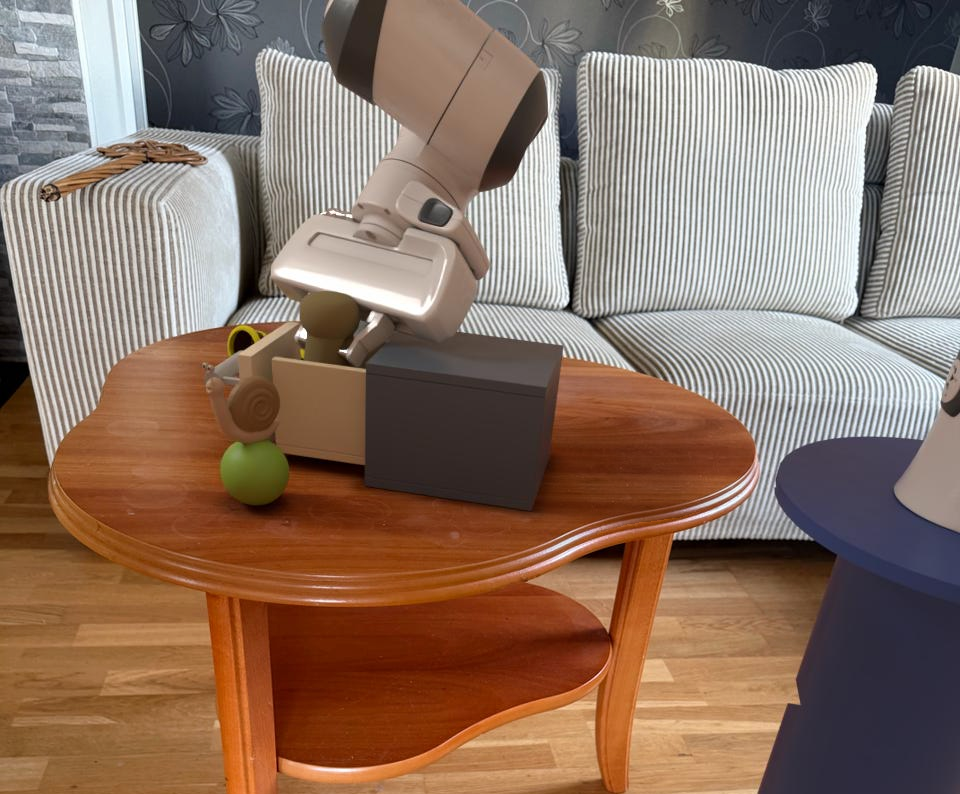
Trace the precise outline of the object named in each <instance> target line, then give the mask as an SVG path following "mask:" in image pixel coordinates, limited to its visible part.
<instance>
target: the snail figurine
mask: <svg viewBox="0 0 960 794" xmlns="http://www.w3.org/2000/svg"><path fill="white" fill-rule="evenodd" d="M201 367H202V369H203V370H204V371H205V372H204V373H206V372H208V371H209V372H210V373H211V378H210V379H209V380H208V378H207V374H206V379H207V383H206V384H205V391H206V393H207V395H208V396H209V400H210V404H211V409H212V412H213V415H214V418H215V420H216V423H217V425H218V427H219V429H220V431H221V432H222V433H223V435H224V436H225V437H226V438H228V439H229V440H231V441H234V442H233V443H232V444H231V445H230V446H228V448H227V449H226V450H225V452H224V453H223V455H222V458H221V461H220V464H219V465H220V468H219V475H220V479H221V482H222V484H223V486H224V489H225V490H226V491H227V492H228V493H229V495H230V496H231V497H232V498H233V499H235V500H237V501H238V502H240V503H242V504H246V505H249V506H263V505H267V504H270V503H272V502H274V501H275V500H278V498H280V497H281V495H282V494H283V493H284V492H285V490H286V488H287V486H288V483H289V480H290V466H289V461H288V459H287V456H285V453H283V452H282V451H281V450H280V449H279V448H278V447H277V446H276V443H274V442H273V443H272V442H270V441H268V440H266V439H267V438H269V437H270V436H271V435H272V434H273V433H274V432H275V430H276V428H277V427H278V424H279V421H278V420H275V419H276V417H277V415H278V412H279V408H280V397H279V393H278V391H277V389H276V387H275V386H274V384H273V383H272V382H270V381H269V380H268V379H266V378H264V377H260V376H250V377H247V378H245V379H243V380H241V381H240V382H238V383H237V384H236V385H235V386H233V388H232V389H231V391H230V392H229V394H228V397H227V399H226V397H225V396H226V395H225V390H226V385H224V383H223V381H222V380H221V379H219V378H215V377H214V378H212V372H214V370H215V367H216V366H214V365H213V364H209V362H206V361H205V362H202V364H201Z"/></svg>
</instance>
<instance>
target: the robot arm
mask: <svg viewBox="0 0 960 794" xmlns="http://www.w3.org/2000/svg"><path fill="white" fill-rule="evenodd" d="M320 32H321V38H322V43H323V47H324V50H325V55H326V57H327V61H328V64H329V66H330V69H331V71H332V74H333V76H334V79H335V80H336V81H335V82H336V83H337V84H339V85H340V86H342V87H343V88H345V89H347V90H348V91H350V92H351V93H353V94H354V95H356V96H358V97H359V98H361V99H362V100H364V101H365V102H367V103H369V104H370V105H372V106H374V107H377V108H379V109H380V110H381V111H383V112H384V113H385V114H387V115H388V116H389V117H391V119H393V120H395V121H396V122H397V123H399V124H400V125H401V127H400V129H399V134H398V137H397V139H396V143H395V145H394V147H393V148H392V149H391V150H390V151H389V152H388V153H387V154H386V155H384V156H383V157H382V158H381V159H380V160H379V162H378V164H377V165H376V167H375V168H374V170H373V172H372V174H371V175H370V176H369V179H368V180H367V181H366V184H365V185H364V187H363V188H362V190H361V192H360V193H359V195H358V197H357V198H356V200H355V201H354V203H353V205H352V206H351V211H344V210H342V209H340V208H336V207H329V208H327V209H326V211H322V212H320V213H318V214H313V215H312V216H311V217H309V218H308V219H306V220H305V221H304V222H303V223H302V224H300V226H299V227H298V228H297V229H296V230H295V232H294V233H293V234H292V236H290V238H289V239H288V241H287V242H286V243H285V244H284V246H283V247H282V249H281V250H280V251H279V252H278V254H277V256H275V258H274V260H273V262H272V263H271V266H270V279H271V280H272V281H273V283H274V284H275V285H276V286H277V288H278V289H279V290H280V291H281V292H282V293H283V294H284V295H285V297H286V298H288V299H289V300H292V301H295V302H298V303H301V301H302V300H303V298H304V297H305V296H306V295H308V294H310V293H313V292H319V291H335V292H340V293H344V294H347V295H349V296H351V297H352V298H353V299H354V300H355V301H356V303H357V304H358V306H359V310H360V320H361V321H364V322H367V323H368V324H369V325H368V326H367V327H366V328H364V329H363V330H362V331H361V332H360V333H359V334H357V335H356V336H355V337H354V339H353V338H350V337H347V338H345V340H344V342H343V346H341V347H340V348H339V350H338V356H339V357H340V358H341V359H342V360H343V361H344V362H345V363H347V364H349V365H352V366H354V367H360V366H361V364H362V362H363V361H364V359H365V357H366V356H367V354H368V352H371V351H373V350H374V349H376V348H377V347H379V346H380V345H382V344H383V343H385V342H386V341H388V340H389V338H390V336H391V335H392V333H393V331H397V332H401V333H404V334H407V335H410V336H414V337H417V338H420V339H424V340H427V341H430V342H434V343H437V344H441V343H443V342H445V341H447V340H448V339H450V338H452V337H453V336H454V335H455V334H456V332H459V329H460V327H461V326H462V325H463V322H464V321H465V319H466V317H467V315H468V314H469V311H470V309H471V308H472V305H473V303H474V301H475V299H476V296H477V294H478V288H479V284H478V281H480V280H482V279H483V278H484V277H485V276H486V274H487V273H488V271H489V270H490V267H491V262H490V260H489V257H488V255H487V252H486V250H485V247H484V246H483V243H482V242H481V240H480V238H479V236H478V234H477V232H476V231H475V229H474V227H473V225H472V224H471V222H470V221H469V220H468V218H467V216H466V213H467V211H468V207H469V205H470V203H471V202H472V200H473V199H474V198H475V197H476V196H478V195H479V194H480V193H485V192H489V191H492V190H493V191H494V190H496V189H498V188H501V187H504V186H506V185H508V184H509V183H510V182H511V181H512V180H513V178H514V177H515V175H516V173H517V172H518V170H519V167H520V165H521V163H522V161H523V159H524V156H525V154H526V152H527V150H528V148H529V147H530V146H531V144H532V143H533V141H534V140H535V139H536V138H537V137H538V135H539V134H540V133H541V131H542V129H543V127H545V124H546V122H547V120H548V118H549V99H548V88H547V85H546V80H545V75H544V73H543V70H541V69H540V68H539V66H537V64H536V63H535V62H534V61H533V60H532V59H531V58H530V57H529V56H528V55H526V54H525V53H524V52H523V51H522V50H521V49H520V48H519V47H518V46H516V45H515V44H514V43H513V42H512V41H510V40H509V39H508V38H507V37H505V36H504V35H503V34H502V33H501V32H500V31H499V30H497V29H496V28H495V29H494V28H493V27H491V26H490V25H489V23H487V22H486V21H484V20H483V19H482V18H481V17H480V16H479V15H478V14H476V13H475V12H474V11H472V9H470V8H469V7H468V6H467V5H465V4H464V3H463V2H462V1H461V0H328V2H327V5H326V8H325V10H324V16H323V20H322V22H321V26H320ZM306 334H307V333H306V331H305V330H304V328H303V327H302V325H301V324H300V328H299V329H298V331H297V333H296V334H295V337H294V340H295V342H296V343H297V344H298V346H299V347H300V348H301V349H303V350H304V351H305V344H306ZM923 440H924V442H923V444H922V445H921V447H920V449H919V451H918V452H917V454H916V456H915V457H914V459H913V460H912V462H911V463H910V465H909V467H908V468H907V469H906V471H905V472H904V474H903V475H902V476H901V478H900V479H899V480H898V482H897V483H896V484H895V486H894V493H895V495H896V497H897V498H898V500H899V501H900V502H901V503H902V504H903V505H904V506H906V507H907V508H908V509H910V510H911V511H913V512H914V513H916V514H918V515H919V516H921V517H923V518H925V519H927V520H929V521H931V522H933V523H935V524H938V525H940V526H943V527H945V528H948V529H950V530H953V531H956V532H958V533H960V349H958V352H957V355H956V357H955V359H954V360H953V362H952V364H951V366H950V369H949V372H948V374H947V377H946V380H945V383H944V386H943V389H942V391H941V399H940V408H939V411H938V412H937V414H936V417H935V419H934V421H933V423H932V425H931V427H930V429H929V430H928V432H927V435H926V437H925V438H924V439H923Z"/></svg>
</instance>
